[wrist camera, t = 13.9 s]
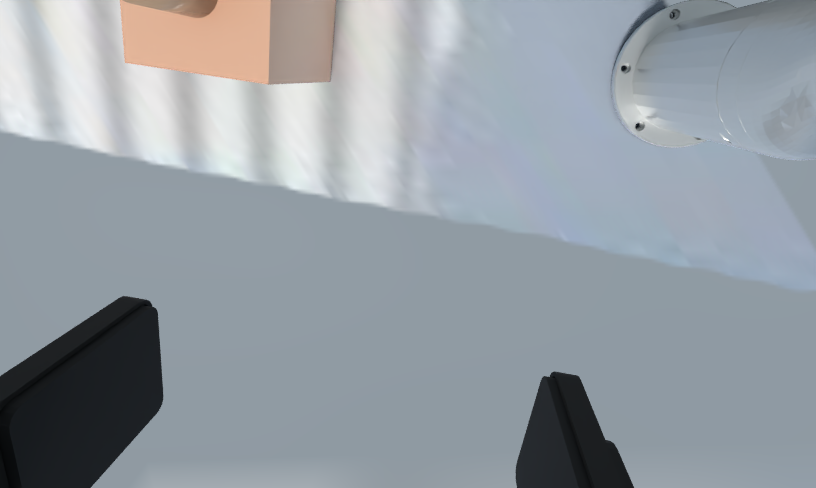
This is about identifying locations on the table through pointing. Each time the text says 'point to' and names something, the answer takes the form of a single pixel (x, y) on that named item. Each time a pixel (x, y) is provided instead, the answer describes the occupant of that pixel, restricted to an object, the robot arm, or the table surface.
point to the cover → (233, 38)
